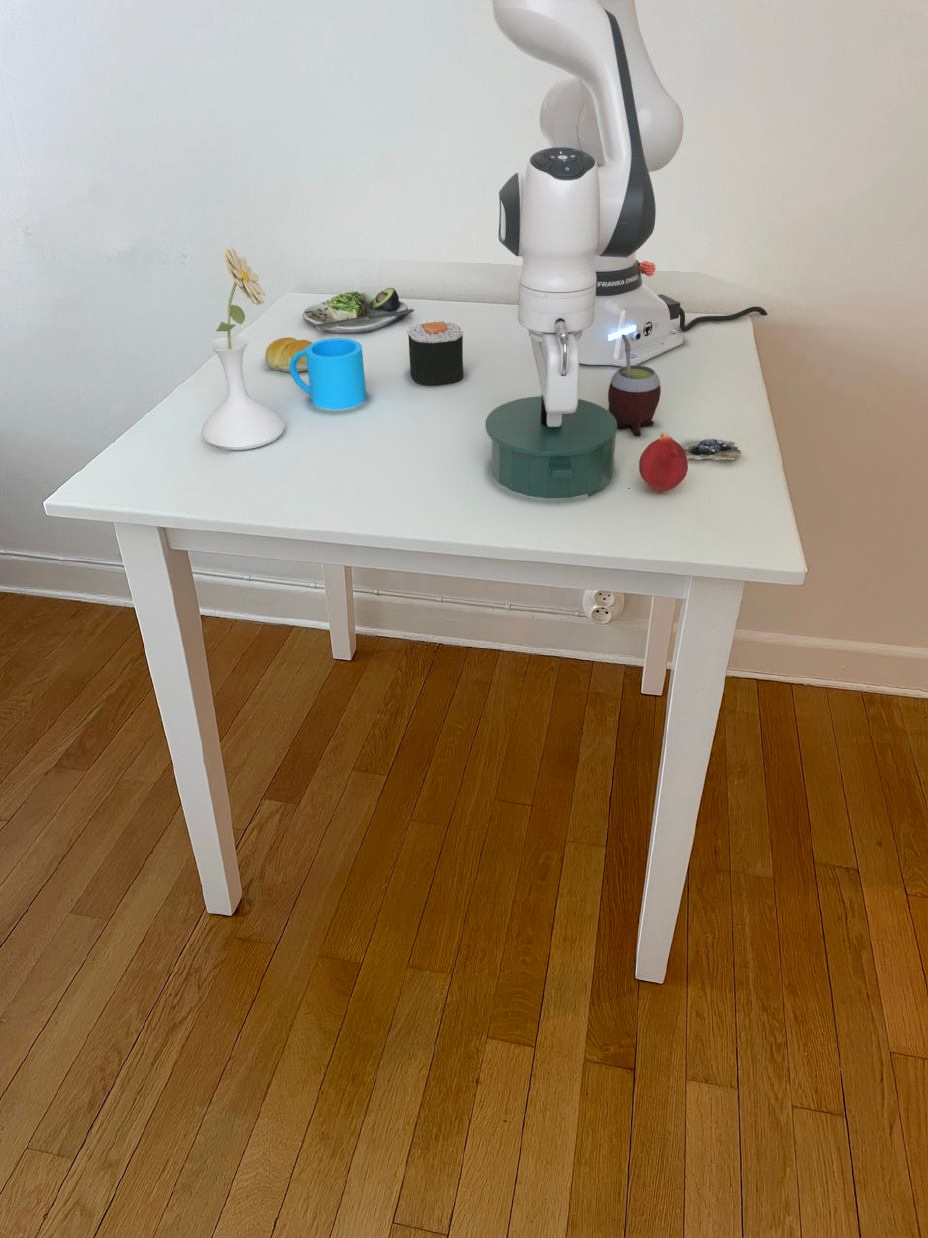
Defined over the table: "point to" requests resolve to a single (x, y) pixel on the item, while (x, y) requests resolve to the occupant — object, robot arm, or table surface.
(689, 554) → the table surface
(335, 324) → the salad plate
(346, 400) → the mug
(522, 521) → the table surface
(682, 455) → the onion
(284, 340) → the bread roll
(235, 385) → the flower in vase
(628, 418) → the mate gourd
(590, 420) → the lid
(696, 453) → the blueberries
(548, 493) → the pot
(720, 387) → the table surface
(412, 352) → the sushi
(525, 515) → the table surface
